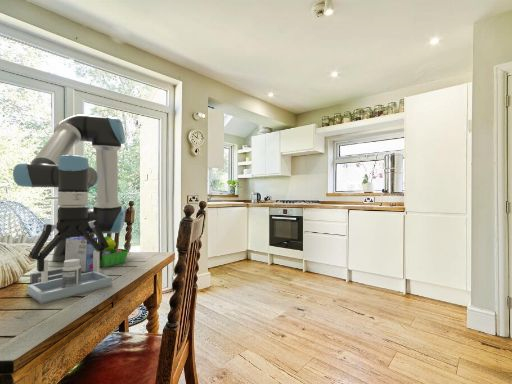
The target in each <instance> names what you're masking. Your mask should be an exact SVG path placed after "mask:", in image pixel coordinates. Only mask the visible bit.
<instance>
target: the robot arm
mask: <svg viewBox="0 0 512 384" xmlns="http://www.w3.org/2000/svg"><path fill="white" fill-rule="evenodd" d="M125 137H126V136H125V130H124V125H123V122H122V120H121V119H120V118H118V117H115V116H114V117H112V116H104V115H94V114H93V115H90V114H82V113H81V114H76V115H72V116H69V117H67V118H64V119H63V120H61V121H60V122H59V123H58V124H57V125H56V126H55V127H54V128H53V134H52V135H51V137H50V138H49V140H48V141H47V142H46V143H45V145H44V146H43V147H42V148H41V149H40V150H39V152H38V153H37V154H36V156H35V157H34V158H33V159H32V160H31V162H30V163H28V162H25V163H17V164H16V165H15V166H14V168H13V171H12V177H13V180H14V183H15V184H16V185H17V186H19V187H23V188H26V187H27V188H28V187H29V188H57V205H58V206H59V207H58V208H57V222H56V224H49V223H45V224H43V229H42V232H41V234H40V235H39V237H38V239H37V241H36V243H35V244H34V245H33V247H32V249H31V251H30V253H29V254H28V258H30V259H31V260H36V270H37V272H41V282H42V283H44V284H45V283H48V270H49V259H47V257H48V255H50V254H51V253H52V251H53V250H54V251H53V253H52V261H54V262H64V261H65V251H66V239H67V238H72V237H80V236H83V237H84V238H85V239H86V240H87V241H88V242H89V243H90V244H91V245H92V246H93V247H94V248H95V249H96V250H95V251H93V270H92V271H95V272H99V273H100V266H99V261H100V260H102V251H104V249H105V248H108V247H109V245H108V243H107V241H106V239H105V238H104V237H105V236H104V234H118V233H120V232H122V230H123V228H124V224H125V221H126V220H125V219H126V208H122V206H123V205H122V204H121V203H120V202H119V189H118V188H119V185H118V183H119V177H118V176H119V175H118V174H119V173H118V172H119V171H118V166H119V165H118V161H119V159H118V152H119V150H120V149H122V145H123V144H125V143H126V140H125V139H126V138H125ZM80 142H91V147H92V148H94V149H95V158H96V162H95V163H96V165H95V166H96V168H95V169H96V170H95V169H94V168H92V167H91V166H90V165H89V159H88V158H87V157H86V156H83V155H76V154H70V152H71V151H72V149H73V148H74V146H75V145H77V144H79V143H80ZM95 186H96V203H94V205H93V206H92V207H93V208H90V206H89V205H88V204H89V202H88V201H89V200H88V198H89V196H88V195H89V188H92V187H95ZM55 229H56V231H57V233H56V235H54V237H53V239H51V240H50V241H49V243H47V245H46V246H45V247H44V245H45V243H46V242H47V241H48V239H49V238H50V235H51V233H53V232H54V230H55ZM87 231H89V233H88V232H87ZM91 235H95V237H97V241H95V240H94V239H93V238H92V237H93V236H91Z"/></svg>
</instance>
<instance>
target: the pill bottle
mask: <svg viewBox="0 0 512 384" xmlns="http://www.w3.org/2000/svg"><path fill="white" fill-rule="evenodd" d="M79 264H80V259H70V260H65V261H63V267H62V268H63V269H62V288H66V287H70V286H74V285H78V284H81V274H82V271H81V266H80V265H79Z"/></svg>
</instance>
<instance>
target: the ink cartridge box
mask: <svg viewBox="0 0 512 384" xmlns="http://www.w3.org/2000/svg"><path fill="white" fill-rule="evenodd" d="M87 232H88V233H89V231H87ZM91 237H92V238H93V239H94V240H95V241H97V242H98V239H97V237H96V236H95V237H94V236H91ZM95 250H96V249H95V248H94V247H93V246H92V245H91V244H90V243H89V242H88V241H87V240H86V239H85V238H84V237H83V236H80V237H72V238H67V239H66V251H65V260H70V259H80V264H79V265H80V266H81V272H85V273H86V272H90V271H93V251H95Z"/></svg>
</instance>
